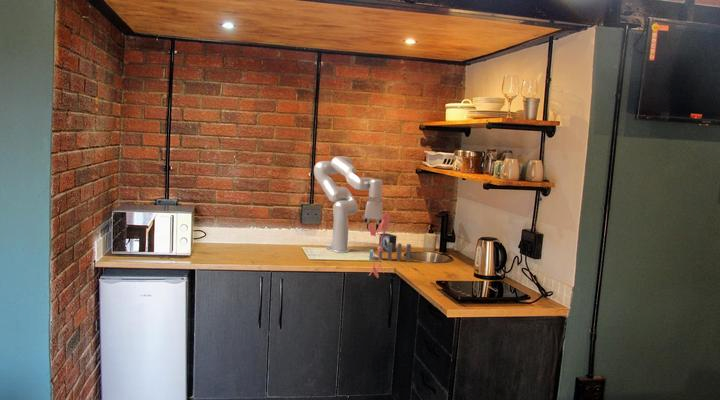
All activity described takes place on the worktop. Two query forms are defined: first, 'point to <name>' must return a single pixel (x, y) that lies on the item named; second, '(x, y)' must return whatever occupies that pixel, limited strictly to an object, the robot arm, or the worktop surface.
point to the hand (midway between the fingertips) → (372, 230)
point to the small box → (388, 241)
